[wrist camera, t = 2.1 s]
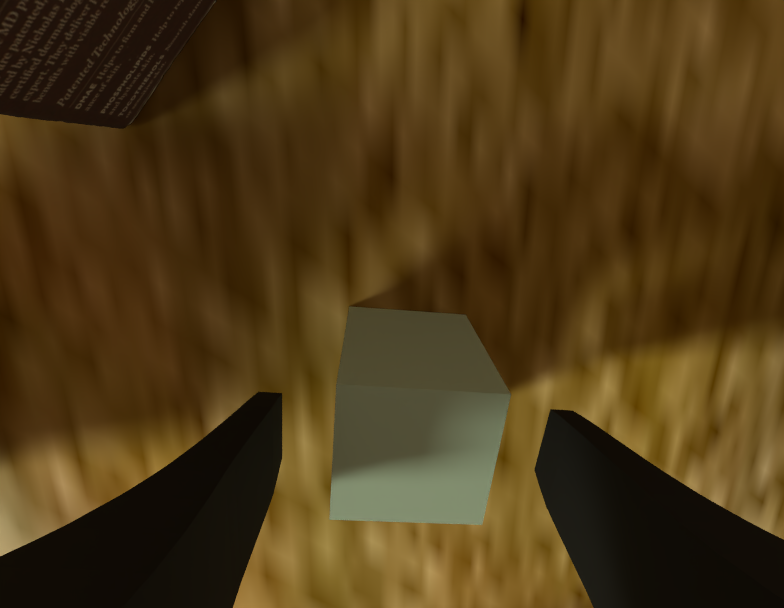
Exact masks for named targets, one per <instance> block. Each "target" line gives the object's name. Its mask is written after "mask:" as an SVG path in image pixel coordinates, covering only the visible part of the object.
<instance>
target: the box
mask: <svg viewBox="0 0 784 608" xmlns="http://www.w3.org/2000/svg"><path fill="white" fill-rule="evenodd" d="M216 1H217V0H0V114H3V115H9V116H15V117H24V118H32V119H40V120H47V121H62V122H67V123H78V124H85V125H95V126H104V127H112V128H120V129H122V128H126V127H127V125H129V124H131V123H132V122H133V120H134V119H135V118H136V116H137V115H138V114H139V112H140V110H141V109H142V107H143V106H144V105H145V103H146V102H147V100H148V99H149V98H150V96H151V94H152V93H153V92H154V90H155V88H156V87H157V85H158V84H159V82H160V81H161V79H162V76H163V75H164V73H165V72H166V71H167V70H168V69H169V67H170V66H171V64H172V62H173V60H174V59H175V57H176V56H177V55H178V54H179V53H180V51H181V50H182V48H183V47H184V45H185V43H186V42H187V41H188V40H189V38H190V36H191V35H192V34H193V33H194V31H195V29H196V28H197V26H198V25H199V24H200V22H201V21H202V19H203V18H204V17H205V16H206V14H207V13H208V11H209V10H210V8H211V7H212V5H213V4H214V3H215V2H216Z"/></svg>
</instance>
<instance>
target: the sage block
mask: <svg viewBox="0 0 784 608" xmlns="http://www.w3.org/2000/svg"><path fill="white" fill-rule="evenodd" d="M510 396H511V393H510V392H509V390H508V388H507V386H506V385H505V383H504V381H503V379H502V378H501V376H500V374H499V372H498V371H497V369H496V367H495V365H494V364H493V362H492V360H491V358H490V356H489V355H488V353H487V351H486V349H485V348H484V346H483V344H482V342H481V341H480V339H479V337H478V335H477V334H476V332H475V330H474V328H473V327H472V325H471V323H470V321H469V320H468V318H467V316H466V315H463V314H449V313H435V312H421V311H407V310H393V309H379V308H365V307H351V306H349V311H348V317H347V323H346V330H345V336H344V342H343V348H342V354H341V360H340V366H339V372H338V378H337V384H336V403H335V423H334V442H333V462H332V482H331V501H330V520H358V521H387V522H416V523H445V524H474V525H482V523H483V519H484V514H485V510H486V505H487V500H488V496H489V491H490V487H491V482H492V478H493V473H494V469H495V464H496V460H497V455H498V451H499V446H500V442H501V437H502V433H503V428H504V424H505V419H506V415H507V410H508V405H509V401H510Z"/></svg>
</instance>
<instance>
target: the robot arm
mask: <svg viewBox="0 0 784 608" xmlns="http://www.w3.org/2000/svg"><path fill="white" fill-rule="evenodd" d="M281 460H282V393H269V392H258V393H256V394H255V395H254V396H253V397H252V398H250V399H249V400H248V401H247V402H246V403H245V404H243V405H242V406H241V407H240V408H239V409H238V410H237V411H235V412H234V413H233V414H232V415H231V416H230V417H228V418H227V419H226V420H225V421H224V422H223V423H221V424H220V425H219V426H218V427H217V428H215V429H214V430H213V431H212V432H210V433H209V434H208V435H207V436H206V437H204V438H203V439H202V440H201V441H199V442H198V443H197V444H195V445H194V446H193V447H191V448H190V449H189V450H187V451H186V452H185V453H183V454H182V455H181V456H179V457H178V458H177V459H175V460H174V461H173V462H171V463H170V464H168V465H167V466H166V467H164V468H163V469H161V470H160V471H158V472H157V473H155V474H154V475H152V476H151V477H149V478H147V479H146V480H144V481H143V482H141V483H139V484H138V485H136V486H135V487H133V488H132V489H130V490H128V491H127V492H125V493H123V494H122V495H120V496H118V497H116V498H115V499H113V500H111V501H109V502H107V503H105V504H104V505H102V506H100V507H98V508H96V509H95V510H93V511H91V512H89V513H87V514H85V515H84V516H82V517H80V518H78V519H76V520H75V521H73V522H71V523H69V524H67V525H65V526H63V527H61V528H59V529H57V530H55V531H53V532H51V533H49V534H47V535H45V536H43V537H41V538H39V539H37V540H35V541H33V542H31V543H28V544H26V545H24V546H22V547H20V548H18V549H15V550H13V551H11V552H9V553H7V554H5V555H3V556H0V608H233V605H234V602H235V599H236V596H237V593H238V590H239V587H240V584H241V581H242V578H243V575H244V573H245V570H246V567H247V565H248V562H249V559H250V556H251V554H252V551H253V548H254V546H255V543H256V540H257V537H258V535H259V532H260V529H261V527H262V524H263V521H264V518H265V516H266V513H267V510H268V507H269V505H270V502H271V499H272V496H273V493H274V489H275V485H276V481H277V477H278V473H279V468H280V464H281ZM535 473H536V476H537V479H538V483H539V486H540V489H541V492H542V495H543V498H544V501H545V504H546V507H547V509H548V511H549V513H550V516H551V518H552V520H553V522H554V524H555V526H556V528H557V531H558V533H559V535H560V537H561V539H562V541H563V543H564V545H565V547H566V549H567V552H568V554H569V556H570V558H571V560H572V562H573V564H574V566H575V568H576V570H577V572H578V575H579V577H580V579H581V581H582V583H583V585H584V587H585V589H586V591H587V593H588V596H589V598H590V600H591V603H592V605H593V607H594V608H784V540H783V539H781V538H779V537H777V536H775V535H773V534H771V533H769V532H767V531H765V530H763V529H761V528H759V527H757V526H755V525H754V524H752V523H750V522H748V521H746V520H744V519H742V518H741V517H739V516H737V515H735V514H733V513H732V512H730V511H728V510H726V509H724V508H723V507H721V506H719V505H717V504H716V503H714V502H712V501H710V500H709V499H707V498H705V497H704V496H702V495H700V494H698V493H697V492H695V491H693V490H692V489H690V488H689V487H687V486H686V485H684V484H682V483H681V482H679V481H678V480H676V479H674V478H673V477H671V476H670V475H668V474H666V473H665V472H663V471H662V470H660V469H659V468H657V467H656V466H654V465H653V464H651V463H650V462H648V461H647V460H645V459H644V458H642V457H641V456H639V455H638V454H637V453H635V452H634V451H632V450H631V449H629V448H628V447H626V446H625V445H624V444H622V443H621V442H619V441H618V440H616V439H615V438H613V437H612V436H611V435H609V434H608V433H606V432H605V431H603V430H602V429H600V428H599V427H597V426H596V425H595V424H593V423H592V422H590V421H589V420H587V419H585V418H584V417H582V416H581V415H579V414H577V413H576V412H574V411H569V410H552V409H551V410H550V413H549V417H548V421H547V425H546V428H545V432H544V436H543V440H542V443H541V447H540V451H539V455H538V458H537V462H536V466H535Z"/></svg>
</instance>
